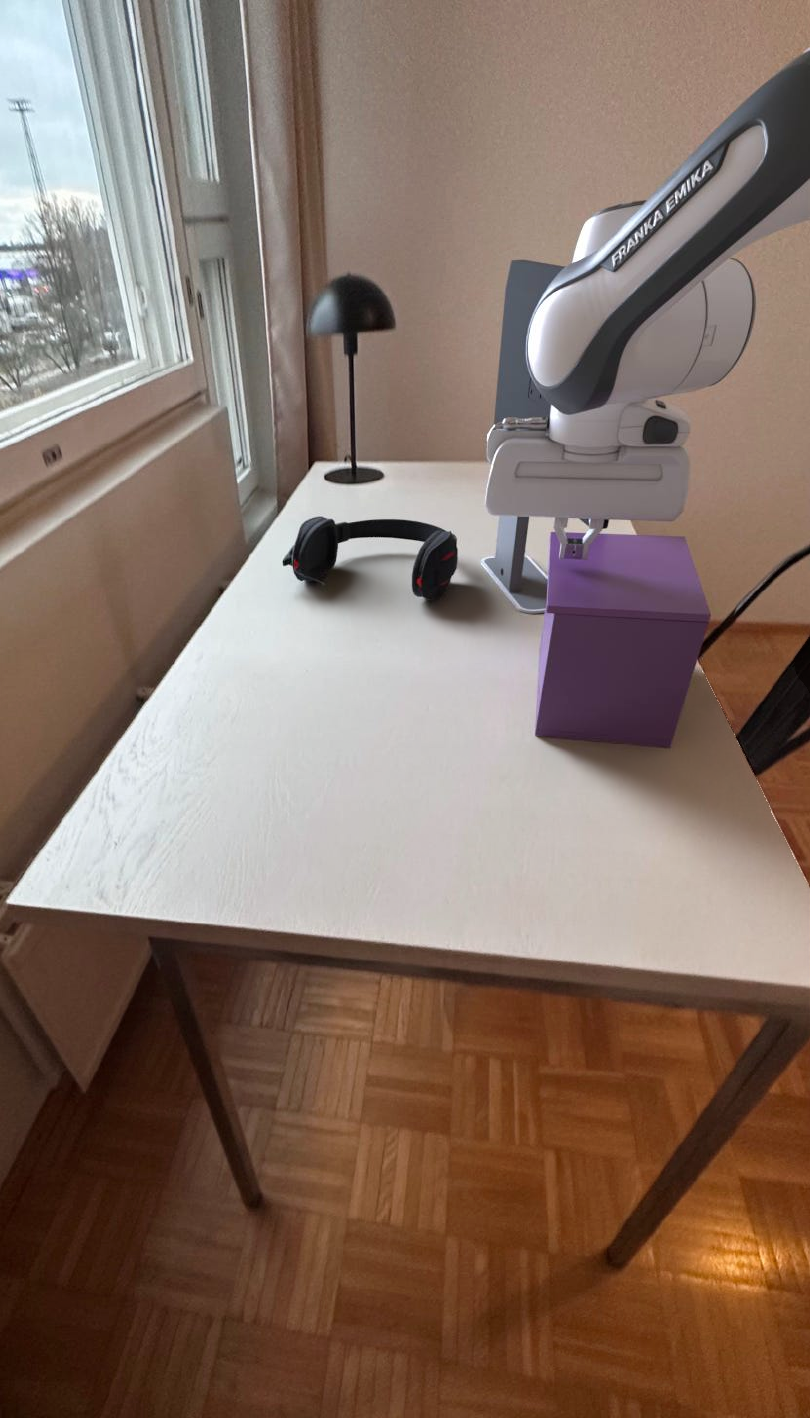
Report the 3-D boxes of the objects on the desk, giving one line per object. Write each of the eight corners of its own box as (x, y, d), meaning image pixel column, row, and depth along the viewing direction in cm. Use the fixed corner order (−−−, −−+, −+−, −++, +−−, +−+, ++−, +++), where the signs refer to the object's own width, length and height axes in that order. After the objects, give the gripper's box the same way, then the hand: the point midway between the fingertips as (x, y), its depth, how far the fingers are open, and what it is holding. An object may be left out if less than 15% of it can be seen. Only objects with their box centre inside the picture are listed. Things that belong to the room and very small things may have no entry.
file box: (534, 735, 85) (554, 613, 75) (539, 648, 101) (556, 538, 91) (670, 748, 82) (708, 622, 72) (653, 656, 98) (683, 543, 88)
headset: (284, 620, 111) (279, 563, 105) (286, 555, 131) (282, 504, 125) (470, 610, 111) (474, 552, 105) (443, 546, 131) (446, 495, 125)
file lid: (546, 613, 75) (547, 605, 75) (549, 538, 91) (550, 531, 91) (709, 622, 72) (711, 614, 72) (683, 543, 88) (684, 536, 88)
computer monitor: (601, 635, 103) (675, 280, 77) (543, 642, 102) (598, 285, 76) (507, 536, 134) (537, 258, 107) (462, 540, 133) (481, 261, 107)
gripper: (486, 424, 72) (475, 564, 81) (709, 426, 68) (671, 572, 77) (491, 410, 77) (480, 543, 86) (700, 411, 73) (665, 551, 82)
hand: (572, 557), depth 81 cm, fingers closed
